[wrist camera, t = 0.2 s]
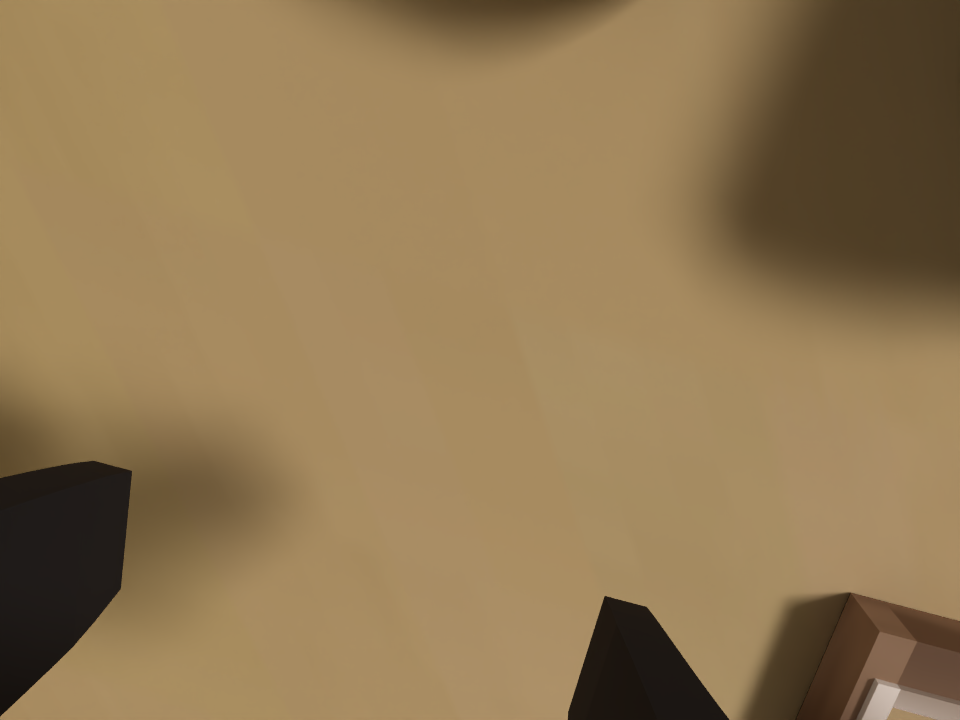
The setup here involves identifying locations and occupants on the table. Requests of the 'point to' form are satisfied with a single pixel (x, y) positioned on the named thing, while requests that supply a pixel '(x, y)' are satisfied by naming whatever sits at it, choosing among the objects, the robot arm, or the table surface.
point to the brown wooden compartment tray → (887, 665)
